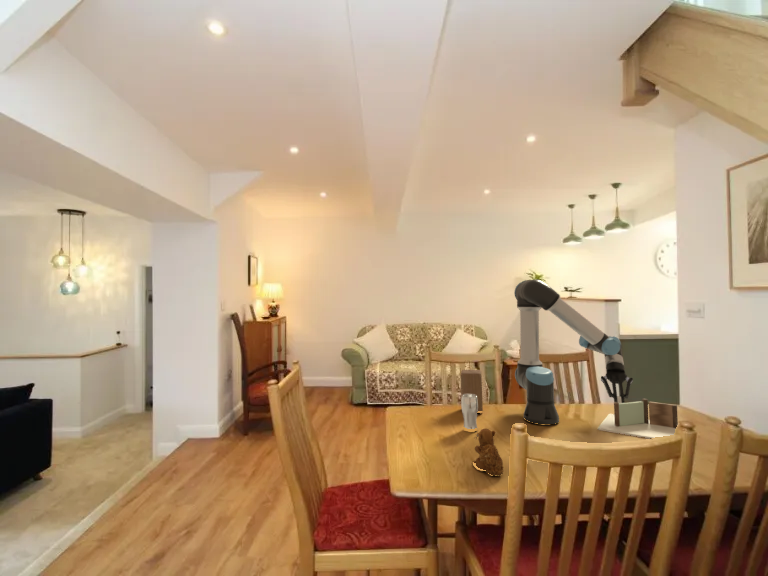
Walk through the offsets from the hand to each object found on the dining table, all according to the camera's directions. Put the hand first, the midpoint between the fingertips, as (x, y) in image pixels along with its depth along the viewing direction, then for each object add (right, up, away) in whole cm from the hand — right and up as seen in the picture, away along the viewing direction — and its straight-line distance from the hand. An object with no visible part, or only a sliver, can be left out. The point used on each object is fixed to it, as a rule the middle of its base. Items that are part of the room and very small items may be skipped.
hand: (620, 411), depth 169 cm
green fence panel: (+3, -5, -2) cm, 6 cm away
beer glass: (-65, -8, 0) cm, 66 cm away
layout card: (+6, -6, -4) cm, 9 cm away
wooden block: (-58, -9, +26) cm, 64 cm away
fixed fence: (+15, -6, -4) cm, 16 cm away
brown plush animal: (-67, -8, -39) cm, 78 cm away
